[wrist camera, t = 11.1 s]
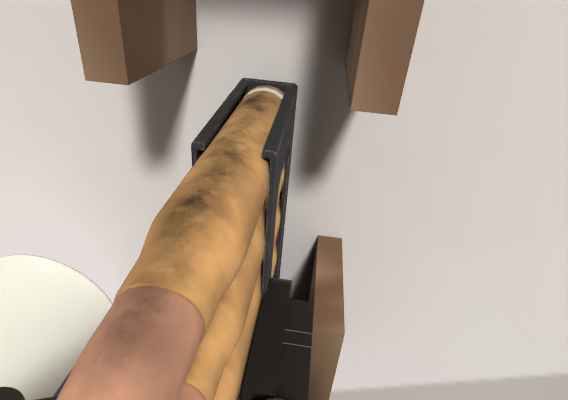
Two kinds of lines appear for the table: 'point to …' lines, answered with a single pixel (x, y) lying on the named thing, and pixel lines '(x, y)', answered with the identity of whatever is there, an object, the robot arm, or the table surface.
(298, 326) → the robot arm
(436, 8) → the table surface
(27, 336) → the water bottle
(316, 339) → the end cap
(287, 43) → the table surface
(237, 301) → the ammunition clip
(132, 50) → the end cap
